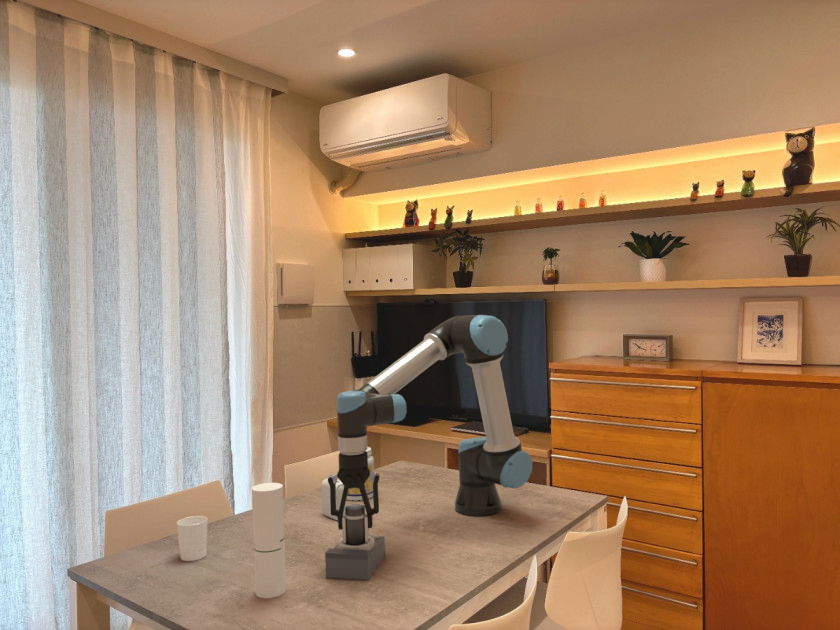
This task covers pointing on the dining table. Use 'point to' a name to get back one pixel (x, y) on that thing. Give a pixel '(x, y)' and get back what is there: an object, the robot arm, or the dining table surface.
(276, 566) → the cylindrical container
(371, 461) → the supplement tub
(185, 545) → the white cup
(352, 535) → the lens
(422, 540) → the dining table surface
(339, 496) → the photo printer
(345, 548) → the camera body
